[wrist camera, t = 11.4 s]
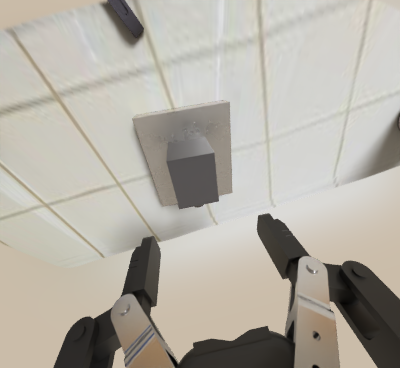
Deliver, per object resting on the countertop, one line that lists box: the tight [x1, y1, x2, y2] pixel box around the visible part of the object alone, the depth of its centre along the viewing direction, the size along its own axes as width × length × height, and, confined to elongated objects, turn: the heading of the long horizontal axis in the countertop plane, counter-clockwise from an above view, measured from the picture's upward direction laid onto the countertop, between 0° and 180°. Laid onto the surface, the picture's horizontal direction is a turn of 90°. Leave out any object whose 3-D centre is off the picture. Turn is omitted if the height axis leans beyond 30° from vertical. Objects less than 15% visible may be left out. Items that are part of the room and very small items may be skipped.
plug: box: [166, 137, 219, 209], centre depth 22 cm, size 5×8×8 cm, turn 8°
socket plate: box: [132, 100, 232, 206], centre depth 24 cm, size 12×14×3 cm
